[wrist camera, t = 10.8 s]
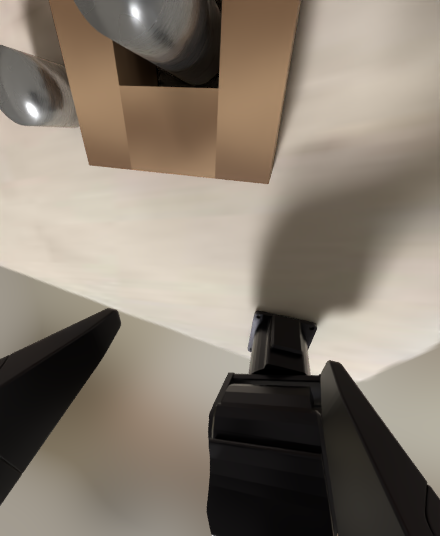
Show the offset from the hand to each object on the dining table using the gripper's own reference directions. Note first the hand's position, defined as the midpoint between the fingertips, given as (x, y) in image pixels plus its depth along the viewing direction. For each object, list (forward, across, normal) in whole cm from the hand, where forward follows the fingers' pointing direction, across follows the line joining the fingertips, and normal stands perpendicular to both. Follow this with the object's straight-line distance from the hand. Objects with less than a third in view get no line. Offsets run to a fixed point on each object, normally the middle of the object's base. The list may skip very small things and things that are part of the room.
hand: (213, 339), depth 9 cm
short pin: (+12, +16, -9) cm, 22 cm away
